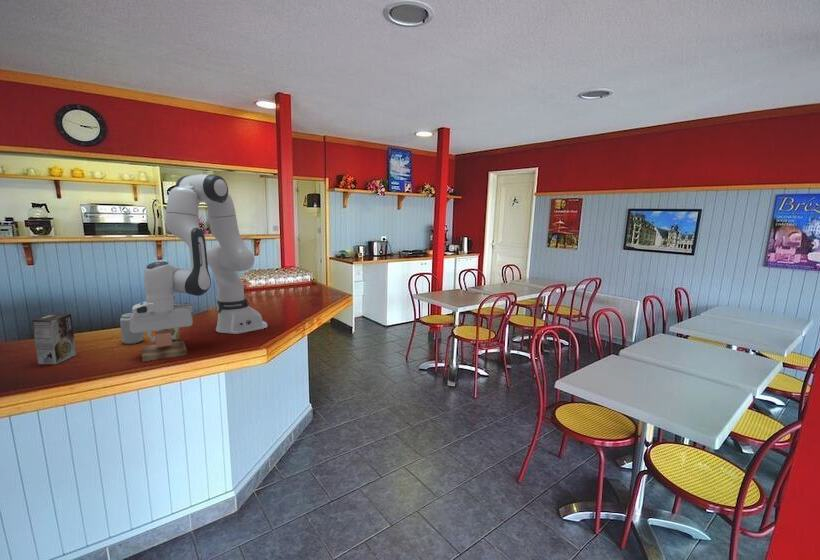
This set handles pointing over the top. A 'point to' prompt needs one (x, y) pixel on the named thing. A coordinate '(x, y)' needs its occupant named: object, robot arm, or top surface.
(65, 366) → the top surface
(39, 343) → the coffee box
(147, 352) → the serving board
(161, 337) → the cube
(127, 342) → the can
